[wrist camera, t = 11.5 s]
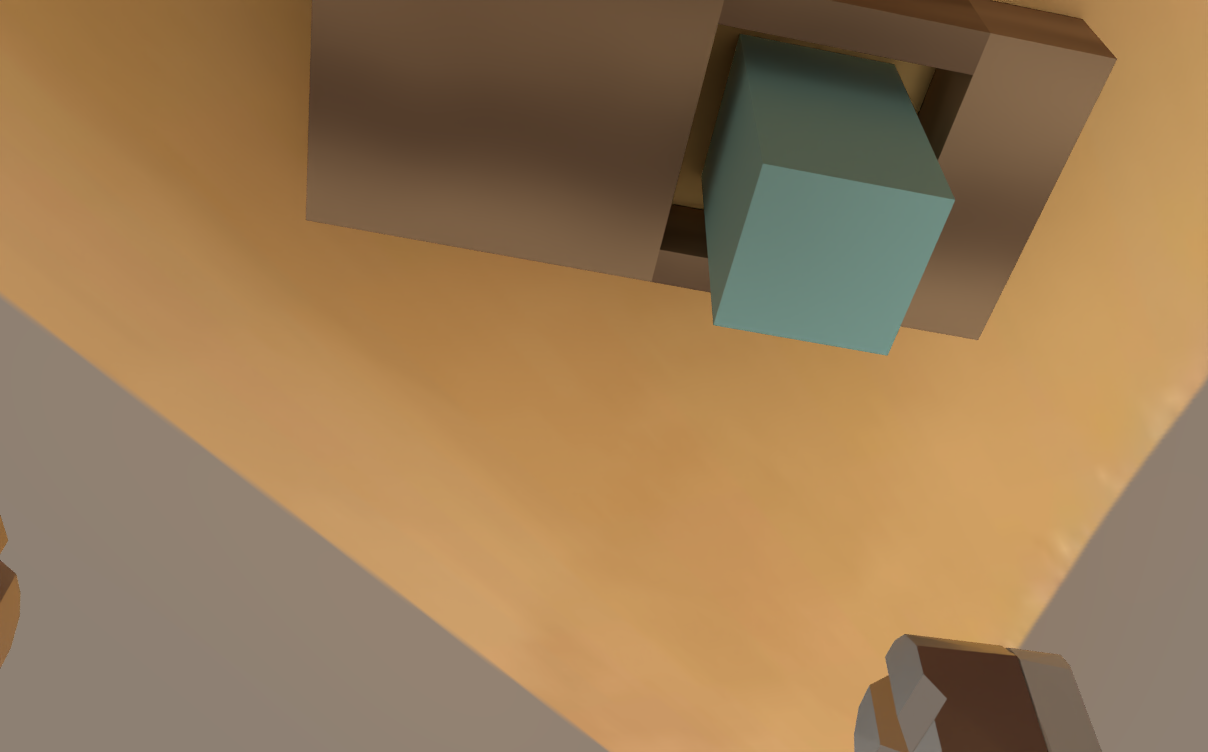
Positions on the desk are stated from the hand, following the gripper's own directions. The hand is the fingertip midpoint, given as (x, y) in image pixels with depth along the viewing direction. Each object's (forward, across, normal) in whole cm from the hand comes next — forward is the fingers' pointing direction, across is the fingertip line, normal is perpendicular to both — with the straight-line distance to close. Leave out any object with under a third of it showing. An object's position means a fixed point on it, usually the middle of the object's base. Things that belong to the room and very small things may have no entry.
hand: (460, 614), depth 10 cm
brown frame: (+20, -4, +4) cm, 21 cm away
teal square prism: (+20, -7, +4) cm, 22 cm away
